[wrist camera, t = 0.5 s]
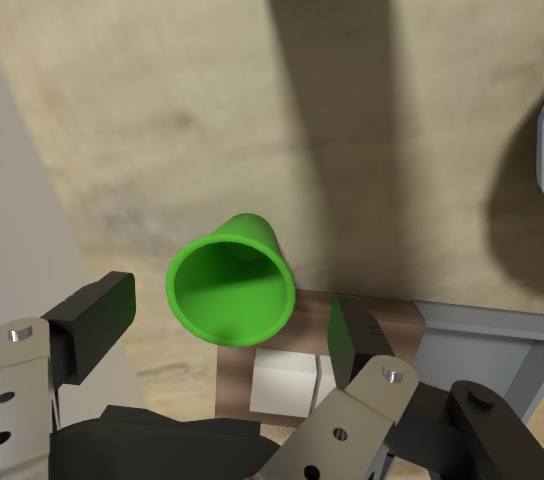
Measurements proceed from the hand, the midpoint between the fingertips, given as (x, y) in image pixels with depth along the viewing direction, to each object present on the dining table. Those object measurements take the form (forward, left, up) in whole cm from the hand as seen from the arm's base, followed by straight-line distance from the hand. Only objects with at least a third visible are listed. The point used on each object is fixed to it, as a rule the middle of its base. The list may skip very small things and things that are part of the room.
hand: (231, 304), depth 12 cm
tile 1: (+18, +4, -15) cm, 24 cm away
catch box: (+18, +24, -19) cm, 35 cm away
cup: (+5, -1, -19) cm, 19 cm away
